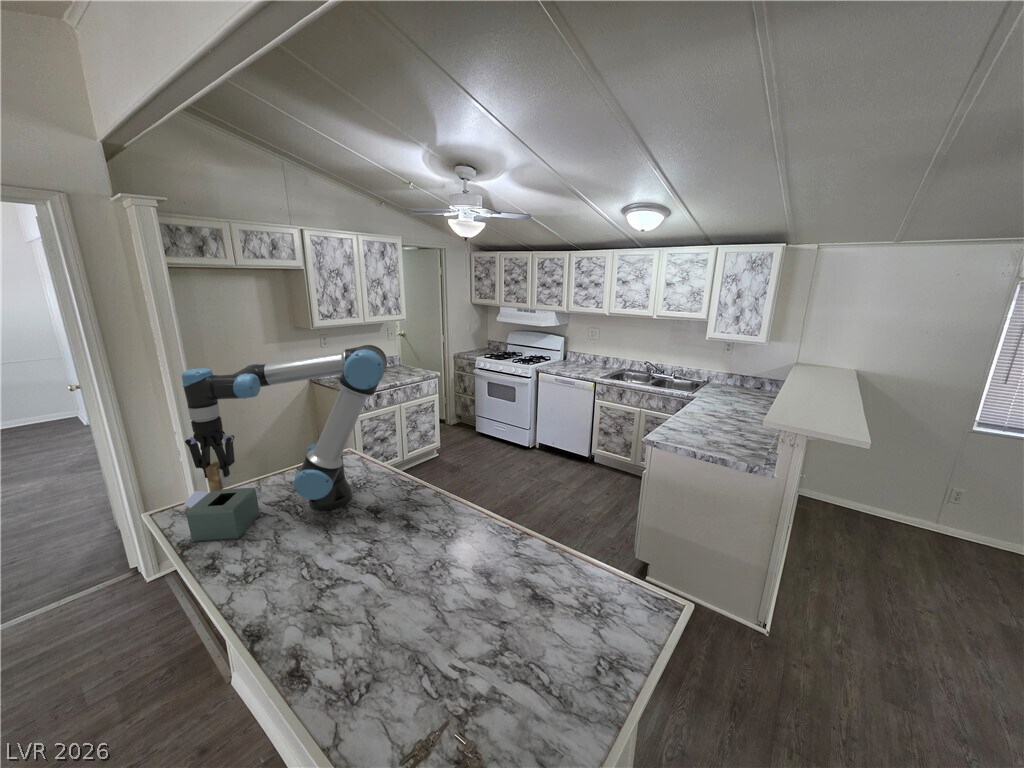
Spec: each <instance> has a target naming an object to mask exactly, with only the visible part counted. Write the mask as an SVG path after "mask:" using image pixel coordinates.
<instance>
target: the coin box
mask: <svg viewBox="0 0 1024 768" xmlns="http://www.w3.org/2000/svg"><path fill="white" fill-rule="evenodd" d="M207 493H208V494H207V495H206V496H205V497H203V498H202V499H201V500H200V501H199V502H197V503H196V504H195V505H194V506H192V507H191V508H190V507H189V508H188V510H186V511H185V516H186V517H185V518H186V521H187V525H188V530H189V532H190V533H189V534H190V537H191V541H192V543H204V542H206V543H207V542H223V541H235V540H240V539H241V538H242V536H243V535H244V534H245V533H246V532H247V531H248V530H249V528H250V527H251V526H252V525H253V524H255V522H256V521H257V519H258V518H259V517H260V516H261V512H260V506H259V501H258V497H257V495H258V494H257V490H256V487H243V488H242V487H239V488H223V489H222V490H221V491H209V492H207Z"/></svg>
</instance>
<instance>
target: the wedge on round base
mask: <svg viewBox="0 0 1024 768" xmlns="http://www.w3.org/2000/svg"><path fill="white" fill-rule="evenodd" d="M208 493H209V492H207V491H200V490H195V491H194V492H193V493H192V494H191V495H190V497H189V498H188V499H187V500H186V501H185V502H184V504H183V506H185V507H188V508H189V509H190V508H191V507H192V506H194V505H195V504H196V503H197V502H199V501H200V500H201V499H202V498H203V497H205V496H206V495H207V494H208Z"/></svg>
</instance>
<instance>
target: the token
mask: <svg viewBox="0 0 1024 768" xmlns="http://www.w3.org/2000/svg"><path fill="white" fill-rule="evenodd" d="M220 468H221V466H220V463H219V461H214V462H212V463H210V466H208V467H207V468H206V474H207V478H206V479H207V483H208V487H209V492H211V491H221V490H222V489H224V488H222V483H221V478H220V473H219V469H220Z"/></svg>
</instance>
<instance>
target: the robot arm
mask: <svg viewBox="0 0 1024 768" xmlns="http://www.w3.org/2000/svg"><path fill="white" fill-rule="evenodd" d="M387 359H388V358H387V355H386V354H385V352H384V351H383V349H381V348H380V347H378V346H377V345H373V344H365V345H361V346H356V347H351V348H346V349H344V350H343V351H342V352H339V353H330V354H324V355H318V356H310V357H304V358H303V357H302V358H296V359H291V360H289V359H288V360H285V361H283V360H281V361H277V362H272V363H271V362H270V363H264V364H261V363H254V364H250V365H247V366H246V367H243V368H241V369H240V370H238V371H236V372H234V373H232V374H219V375H218V374H214V372H213V370H212V369H210V368H204V367H203V368H201V367H200V368H193V369H189V370H185V371H183V372H182V374H181V380H182V388H183V391H184V394H185V400H186V404H187V409H188V414H189V419H190V420H191V422H190V423H191V427H192V432H193V436H191V437H189V438H187V439H186V440H185V441H184V443H185V444H186V445H187V446H188V448H189V449H188V450H189V451H190V454H191V458H192V460H193V464H194V466H195V467H194V468H196V469H202V470H203V475H204V478H205V479H208V478H207V474H206V468H207V467H208V466H210V465H211V448H212V450H213V451H214V453H215V456H216V458H217V462H219V463H220V466H221V468H220V469H219V473H220V478H221V483H222V488H223V489H225V488H226V487H227V486H228V485H229V484H230V480H229V476H230V474H231V472H230V467H231V466H232V465H233V464H234V463H235V461H236V459H235V450H234V449H235V448H234V440H235V436H234V435H233V434H232V435H228V434H226V433H225V431H224V430H223V428H224V427H223V422H222V421H223V420H222V417H221V412H220V407H219V401H218V400H233V399H234V400H235V399H238V400H239V399H243V400H244V399H250V398H256V397H258V396H259V394H260V392H261V388H264V387H268V386H275V385H282V384H287V383H288V384H289V383H295V382H301V381H308V380H314V379H319V378H326V377H332V376H333V377H334V376H339V375H341V376H340V378H339V381H338V384H339V385H340V387H341V388H340V390H339V392H338V395H337V398H336V400H335V402H334V404H333V406H332V409H331V411H330V414H329V416H328V418H327V420H326V422H325V424H324V427H323V429H322V431H321V434H320V436H319V438H318V441H317V442H316V443H312V444H309V445H308V446H307V447H306V455H305V459H304V461H303V463H302V464H301V467H300V469H299V471H298V473H297V474H296V475H295V477H294V481H293V488H294V490H295V491H296V493H297V494H298V495H299V496H300V497H302V498H304V499H307V500H308V505H309V507H310V508H311V509H313V510H317V511H327V510H334V509H337V508H339V507H342V506H344V505H346V504H347V503H349V502H350V501H351V500H352V498H353V491H352V487H351V486H350V484H349V483H348V480H347V478H346V475H345V465H344V457H343V452H344V450H345V448H346V446H347V443H348V441H349V439H350V437H351V434H352V432H353V430H354V427H355V426H356V424H357V421H358V419H359V417H360V415H361V412H362V409H363V407H364V406H365V404H366V401H367V399H368V398H370V397H372V396H374V395H375V392H376V390H377V388H378V386H379V384H380V382H381V380H382V378H383V377H384V374H385V370H386V369H387V366H388V365H387V364H388V360H387ZM223 442H224V444H223ZM199 445H200V446H199ZM223 445H224V446H223ZM224 449H225V450H224Z"/></svg>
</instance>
